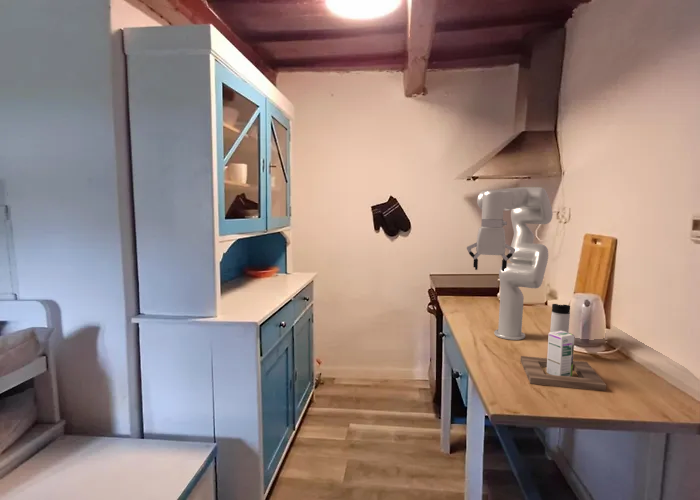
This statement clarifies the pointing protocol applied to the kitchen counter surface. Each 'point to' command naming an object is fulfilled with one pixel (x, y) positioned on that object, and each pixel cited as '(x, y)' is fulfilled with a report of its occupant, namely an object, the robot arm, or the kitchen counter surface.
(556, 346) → the syrup box
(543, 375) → the hole board
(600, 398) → the kitchen counter surface
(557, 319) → the travel mug
